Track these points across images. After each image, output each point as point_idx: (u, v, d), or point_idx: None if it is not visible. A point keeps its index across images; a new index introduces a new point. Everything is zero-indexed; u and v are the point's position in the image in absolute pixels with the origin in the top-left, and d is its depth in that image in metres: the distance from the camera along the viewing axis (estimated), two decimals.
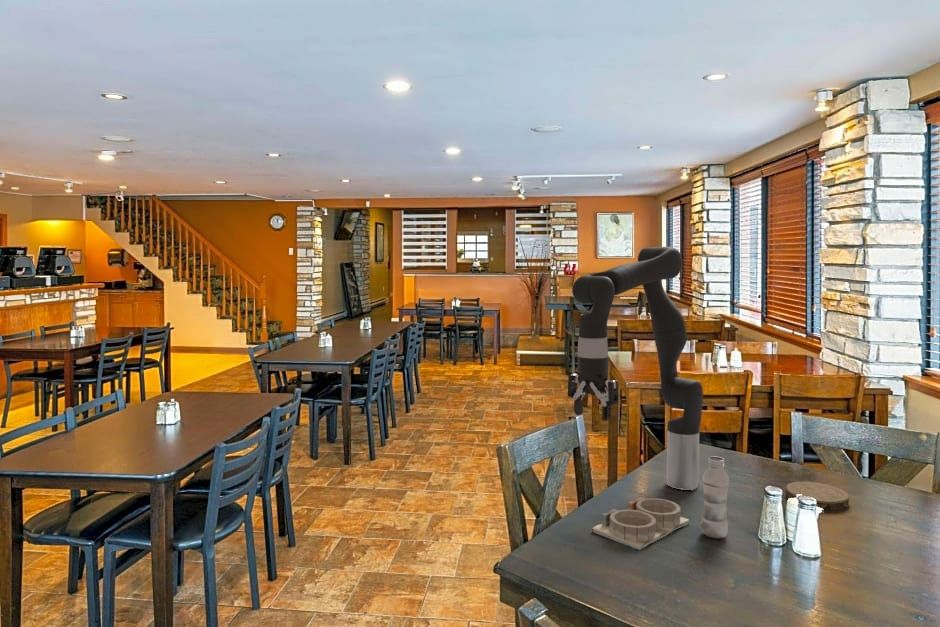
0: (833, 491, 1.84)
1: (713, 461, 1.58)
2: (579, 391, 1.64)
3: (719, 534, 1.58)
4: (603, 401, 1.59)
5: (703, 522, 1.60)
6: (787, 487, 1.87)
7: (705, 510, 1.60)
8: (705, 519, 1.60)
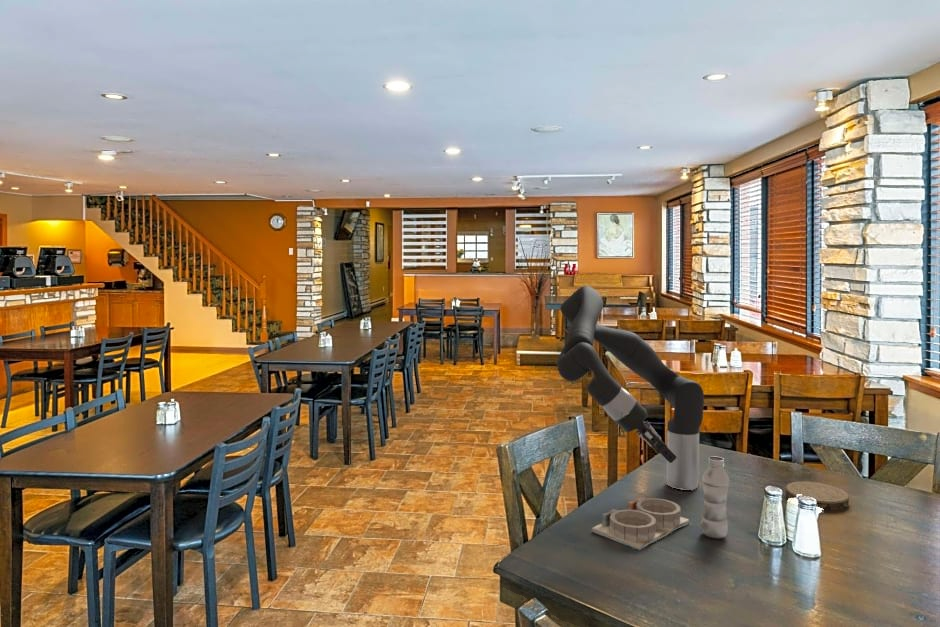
0: (833, 491, 1.84)
1: (713, 461, 1.58)
2: None
3: (719, 534, 1.58)
4: None
5: (703, 522, 1.60)
6: (787, 487, 1.87)
7: (705, 510, 1.60)
8: (705, 519, 1.60)
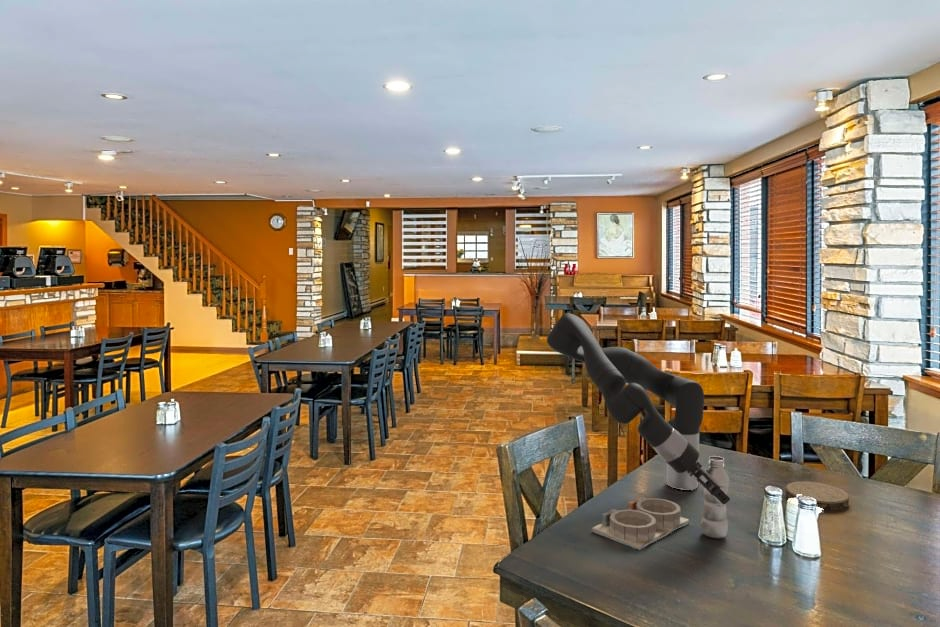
0: (833, 491, 1.84)
1: (713, 461, 1.58)
2: (710, 475, 1.57)
3: (719, 534, 1.58)
4: None
5: (703, 522, 1.60)
6: (787, 487, 1.87)
7: (705, 510, 1.60)
8: (705, 519, 1.60)
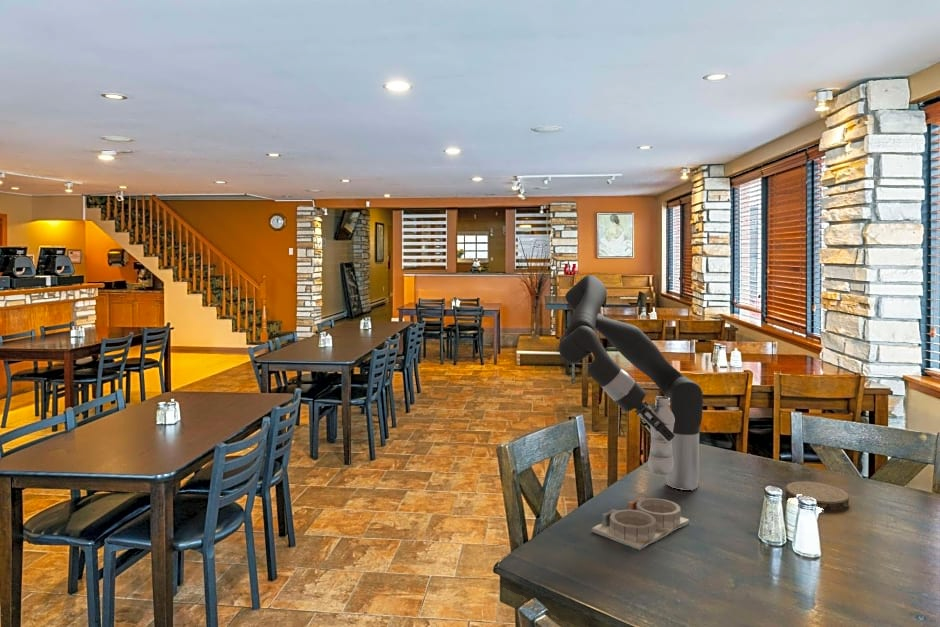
0: (833, 491, 1.84)
1: (659, 400, 1.64)
2: None
3: (665, 470, 1.64)
4: None
5: (650, 459, 1.66)
6: (787, 487, 1.87)
7: (652, 448, 1.66)
8: (651, 457, 1.66)
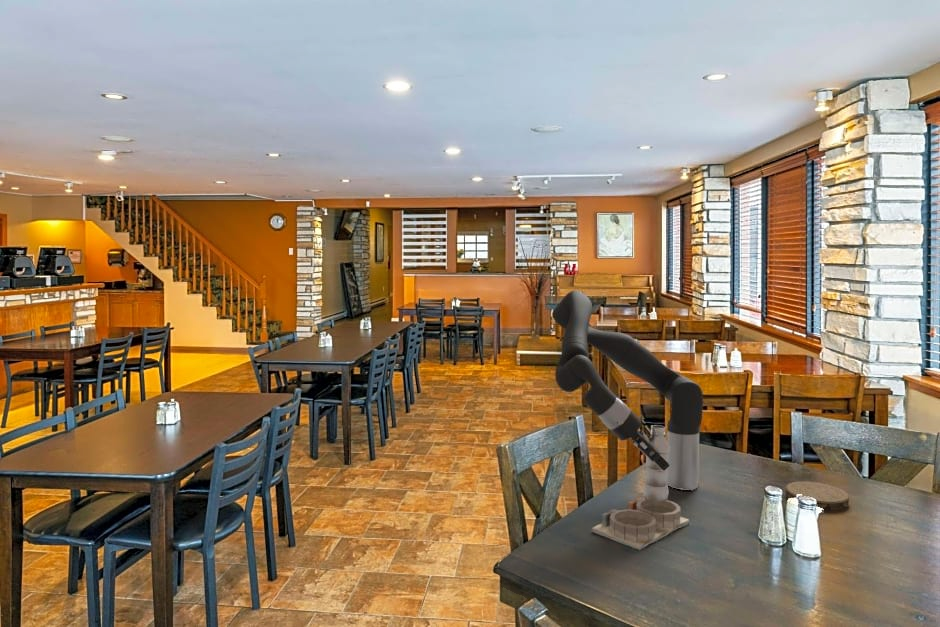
0: (834, 491, 1.84)
1: (654, 429, 1.65)
2: None
3: (659, 499, 1.65)
4: None
5: (645, 488, 1.68)
6: (787, 487, 1.87)
7: (647, 476, 1.67)
8: (646, 485, 1.67)
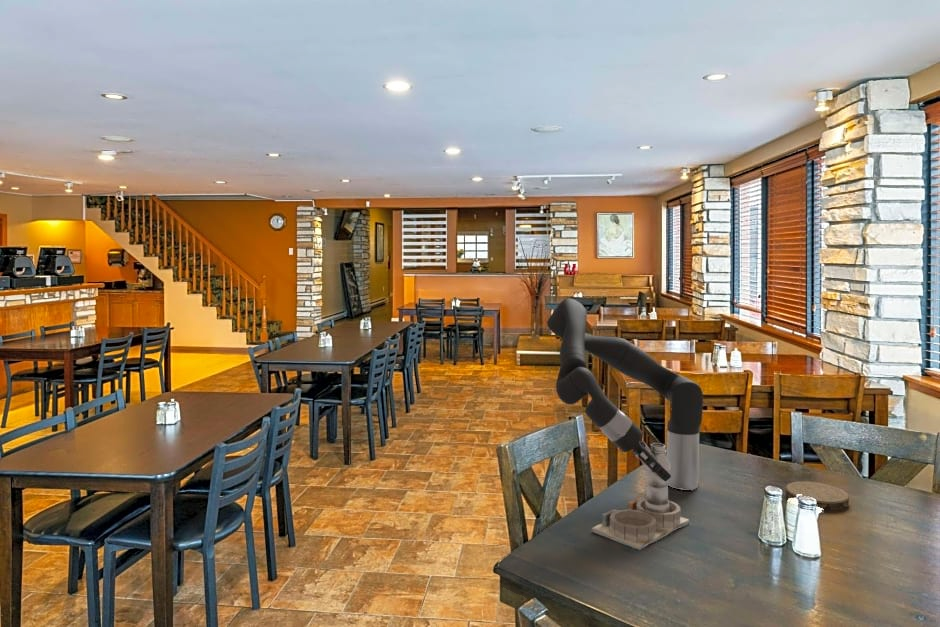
0: (834, 491, 1.84)
1: (655, 447, 1.66)
2: (653, 454, 1.65)
3: None
4: None
5: (646, 506, 1.68)
6: (787, 487, 1.87)
7: (648, 494, 1.67)
8: (648, 503, 1.67)
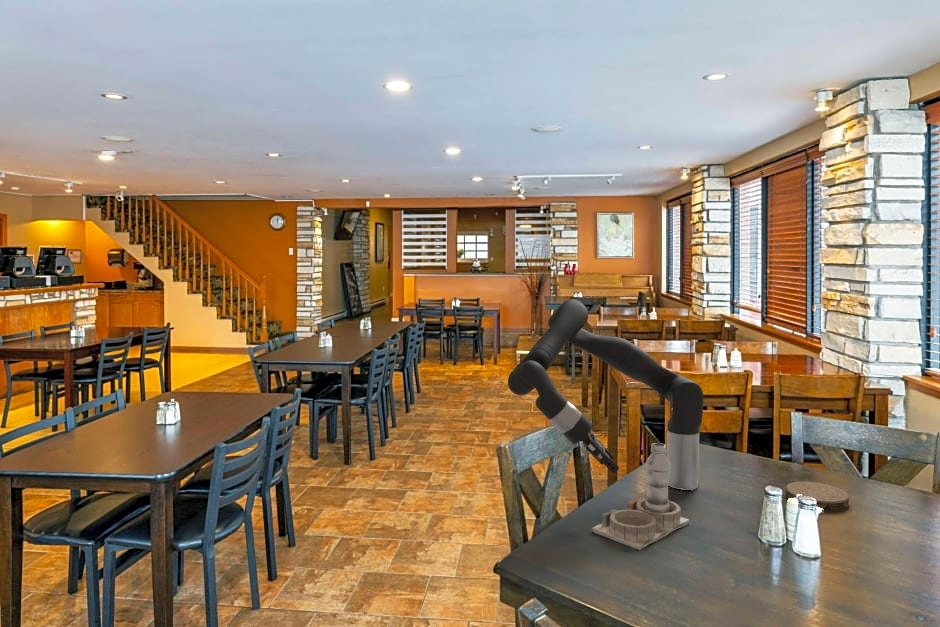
0: (834, 491, 1.84)
1: (655, 447, 1.66)
2: (602, 446, 1.65)
3: None
4: (601, 443, 1.72)
5: (646, 506, 1.68)
6: (787, 487, 1.87)
7: (648, 494, 1.68)
8: (648, 503, 1.67)
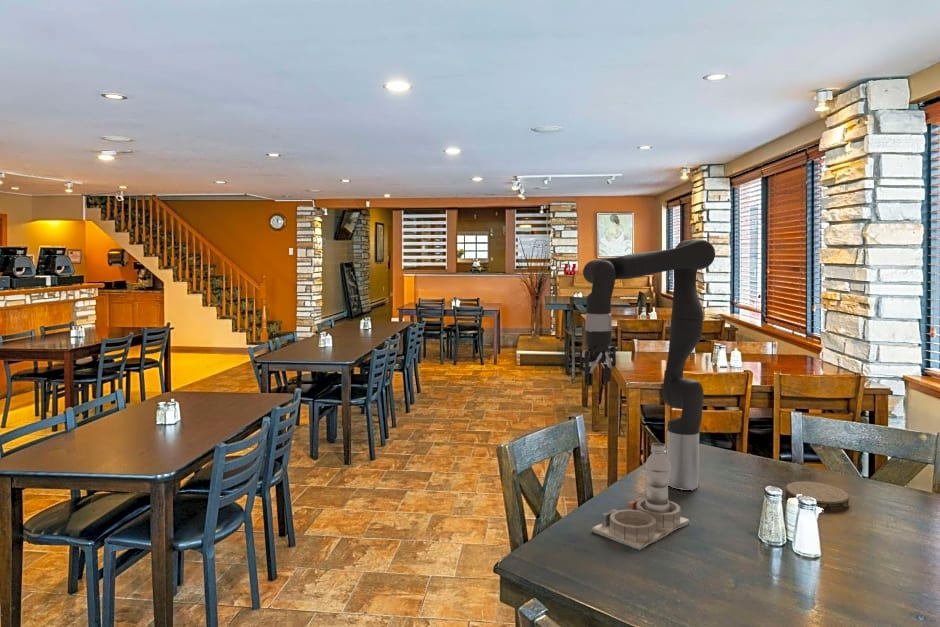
0: (834, 491, 1.84)
1: (655, 447, 1.66)
2: (596, 363, 1.84)
3: None
4: (610, 365, 1.89)
5: (646, 506, 1.68)
6: (787, 487, 1.87)
7: (648, 494, 1.68)
8: (648, 503, 1.67)
